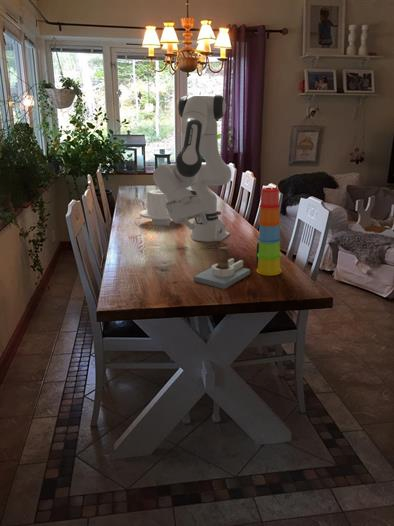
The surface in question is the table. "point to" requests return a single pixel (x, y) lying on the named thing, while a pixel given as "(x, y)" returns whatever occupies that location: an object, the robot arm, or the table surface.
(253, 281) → the table surface
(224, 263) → the walnut dowel
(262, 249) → the stacking cups
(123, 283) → the table surface
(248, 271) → the keyhole board
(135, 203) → the table surface
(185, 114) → the robot arm
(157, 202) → the cake on stand
